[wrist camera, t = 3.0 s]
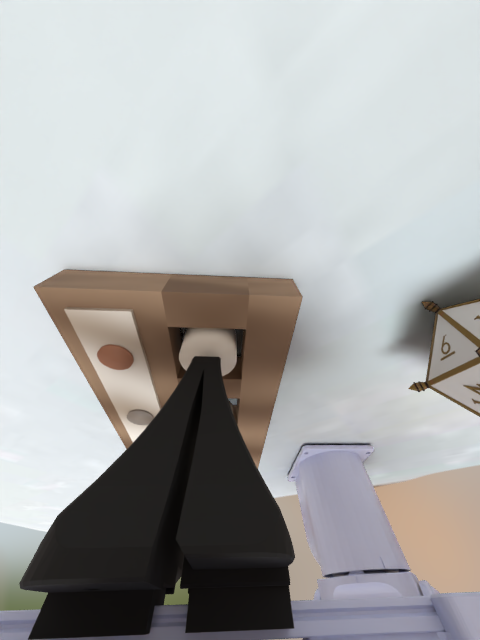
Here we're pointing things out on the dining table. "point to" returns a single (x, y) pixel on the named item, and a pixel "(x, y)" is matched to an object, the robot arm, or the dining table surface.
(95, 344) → the button board
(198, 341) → the button
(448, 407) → the dining table surface
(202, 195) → the dining table surface
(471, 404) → the game die
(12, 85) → the dining table surface
